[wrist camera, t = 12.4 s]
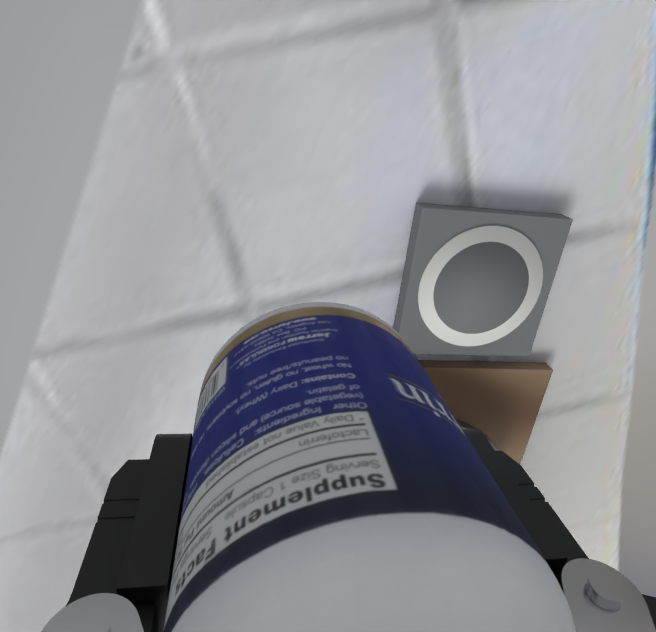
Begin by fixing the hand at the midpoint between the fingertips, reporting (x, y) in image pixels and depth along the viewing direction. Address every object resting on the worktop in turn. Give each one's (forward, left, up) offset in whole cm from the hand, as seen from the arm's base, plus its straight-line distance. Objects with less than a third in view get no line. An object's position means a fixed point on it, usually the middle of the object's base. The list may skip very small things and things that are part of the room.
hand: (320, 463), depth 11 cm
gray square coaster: (-1, -10, -15) cm, 18 cm away
